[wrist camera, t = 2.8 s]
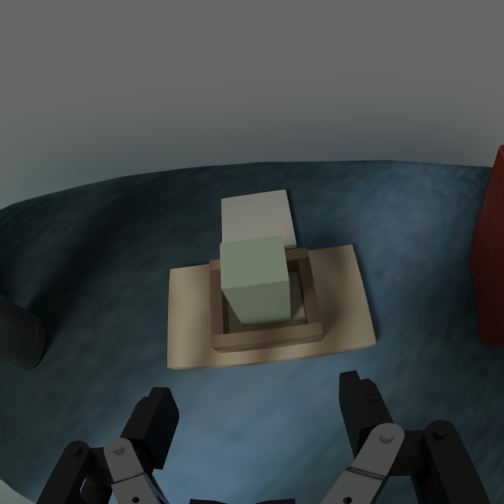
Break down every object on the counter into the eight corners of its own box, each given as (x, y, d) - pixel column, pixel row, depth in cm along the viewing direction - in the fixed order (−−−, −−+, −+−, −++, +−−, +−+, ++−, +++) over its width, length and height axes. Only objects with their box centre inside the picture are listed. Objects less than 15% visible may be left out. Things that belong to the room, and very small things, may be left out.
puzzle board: (172, 369, 30) (155, 362, 26) (174, 274, 36) (160, 257, 32) (372, 346, 28) (384, 336, 24) (350, 250, 34) (356, 230, 31)
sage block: (243, 326, 30) (221, 288, 21) (240, 291, 32) (220, 243, 23) (290, 320, 30) (289, 280, 21) (285, 285, 32) (281, 234, 23)
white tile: (224, 257, 36) (222, 254, 36) (222, 202, 41) (221, 199, 40) (296, 247, 36) (296, 244, 35) (285, 193, 40) (285, 189, 40)
